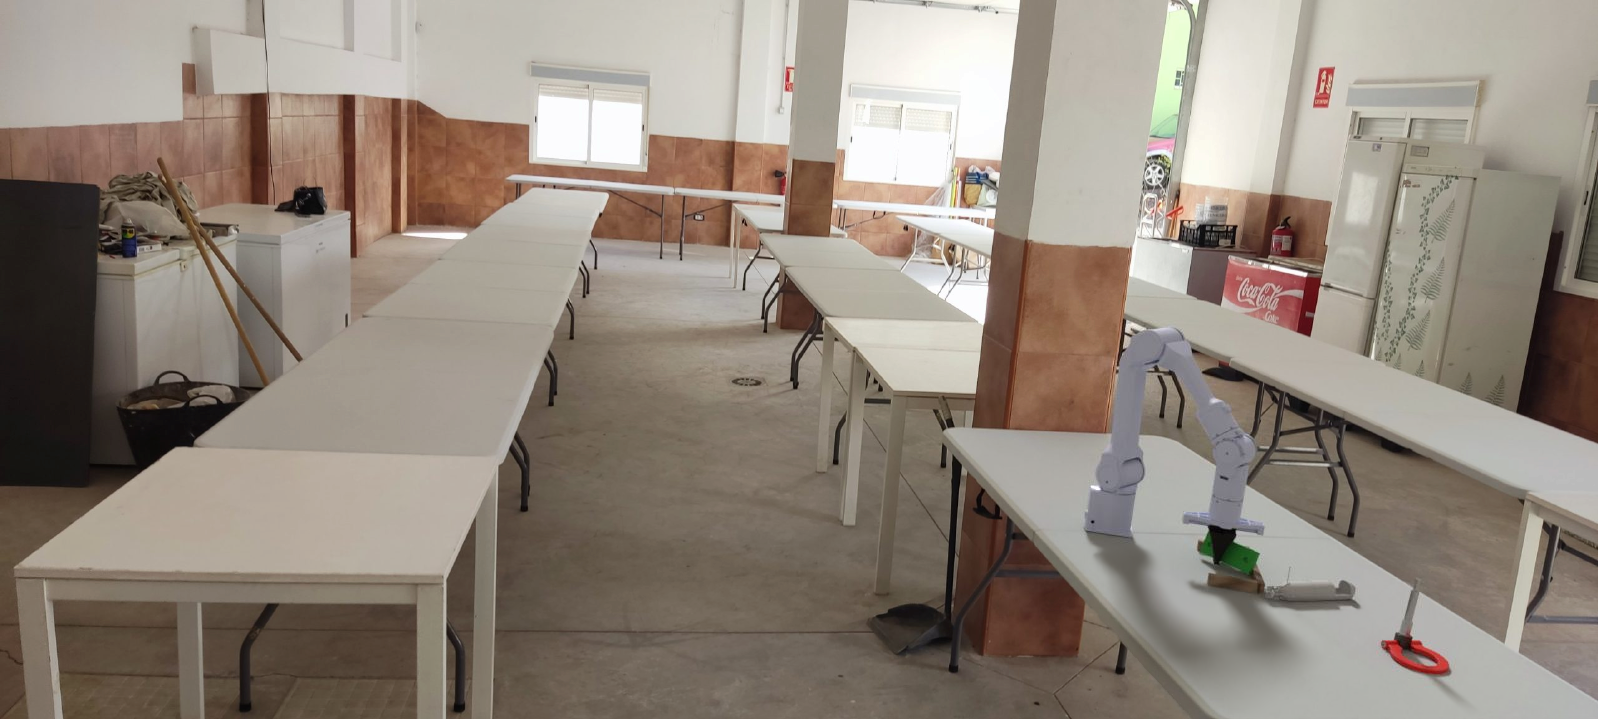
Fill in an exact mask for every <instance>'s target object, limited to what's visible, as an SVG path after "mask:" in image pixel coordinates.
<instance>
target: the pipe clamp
mask: <svg viewBox="0 0 1598 719" xmlns="http://www.w3.org/2000/svg"><path fill="white" fill-rule="evenodd" d="M1203 540H1204V543H1203V545H1202V547H1201V550H1200V551H1199V552H1200V554H1201V553H1202V554H1203V555H1206V556H1208V557H1210V558H1212V559H1213V548H1212V547H1211V544H1212V542H1211V537H1210V533H1209V530H1208V531H1207V534H1206V535H1205V538H1204V539H1203ZM1245 546H1246V545H1242V544H1240V543H1237V542H1236V541H1235V540H1234V541H1233V542H1232V543H1231V544H1230V545H1229V547H1228V548H1227V550H1226V551H1225V553H1224V555H1223V557H1222V559H1221V561H1220V563H1223V564H1225V565H1228V566H1230V567H1232V568H1233V569H1236V570H1239V571H1241V572H1243V573H1245V574H1246V575H1251V574H1252V571H1253V569H1254V567H1255V565H1256V564H1257V562H1258V560H1259V557H1260V554H1261V553H1260V552H1258V551H1256V550H1254V549H1252V548H1251V547H1250V548H1248V547H1249V546H1248V547H1245Z"/></svg>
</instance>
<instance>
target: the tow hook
mask: <svg viewBox="0 0 1598 719" xmlns="http://www.w3.org/2000/svg"><path fill="white" fill-rule="evenodd" d="M1421 582H1422V579H1421V578H1419V577H1416V578H1415V580H1414V584H1413V587H1412V588H1411V589H1410V594H1409V598H1408V601H1407V606H1406V609H1405V614H1404V618H1402V620H1401V623H1400V629H1399V632H1397V631H1396V632H1395V634H1394V638H1393V640H1392V639H1390V640H1389V639H1386V640H1383V639H1382V640H1381V642H1380V645H1381V648H1382V649H1384V650H1388V651H1389V653H1390V656H1391V658H1392V659H1393V660H1394V661H1396V662H1397V663H1398V664H1399V665H1402V666H1403V667H1405V668H1407V669H1409V670H1412V671H1416V672H1418V673H1423V674H1427V675H1442V674H1446V673H1448V671H1449V668H1450V667H1449V666H1450V664H1449V661H1448V660H1447V659H1446V658H1445V657H1444V656H1442V655H1441V654H1440V653H1438V652H1436V651H1435V650H1432V649H1430V648H1429V647H1428V648H1427V647H1425V646H1424V645H1423V642H1422V641H1421V640H1418V639H1414V640H1413V638H1414V637H1413V636H1412V635H1411V634H1412V633H1411V632H1412V628H1413V624H1414V622H1413V619H1414V615H1415V610H1416V608H1417V607H1416V606H1417V604H1418V599H1419V595H1420V590H1419V589H1420V587H1421V586H1420V585H1421ZM1404 650H1411V651H1413V652H1414V653H1417V654H1420V655H1422V656H1423V655H1424V656H1425V657H1427V658H1429V659H1431V660H1433V661H1434V662H1435V665H1425V664H1421V663H1418V662H1415V661H1413V660H1410V659H1408V658H1407V657H1405V656H1404V655H1403V654H1402V653H1403V651H1404Z"/></svg>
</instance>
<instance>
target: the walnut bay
mask: <svg viewBox="0 0 1598 719" xmlns="http://www.w3.org/2000/svg"><path fill="white" fill-rule="evenodd" d="M1204 540H1205V539H1202V538H1198V539H1197V543H1196V544H1197V545H1196V549H1197V551H1199V552H1200V550H1201V547H1202V545H1203V543H1204ZM1244 546H1245V547H1248V548H1250V549H1251V547H1250V546H1246V545H1244ZM1211 547H1212V544H1211ZM1248 575H1249V574H1248ZM1249 578H1250V579H1249ZM1249 578H1244V577H1236V576H1231V575H1226V574H1225V575H1224V574H1218V573H1212V572H1208V575H1207V579H1206V580H1207V582H1206V584H1207V586H1210V587H1216V588H1223V589H1230V590H1234V591H1241V592H1245V593H1246V592H1247V593H1252V594H1259V595H1264V593H1265V589H1266V587H1265V586H1266V583H1265V580H1264V578H1263V575H1262V573H1261V571H1260V569H1259V566H1258V563H1256V565H1255V567H1254V569H1253V571H1252V574H1251V575H1249Z"/></svg>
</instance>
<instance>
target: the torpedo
mask: <svg viewBox="0 0 1598 719" xmlns="http://www.w3.org/2000/svg"><path fill="white" fill-rule="evenodd" d="M1291 568H1292V567H1291V566H1289V569H1288V574H1287V580H1285V581H1282V582H1281V583H1280V584H1279V585H1278V584H1276V585H1275V584H1274V585H1267V586H1266V587H1267V588H1264V591H1266V592H1265V598H1272V599H1275V598H1276V599H1277V598H1280V599H1281V600H1283V601H1286V602H1287V601H1288V602H1309V601H1310V602H1312V601H1313V602H1314V601H1315V602H1316V601H1319V602H1321V601H1347V600H1351V599H1353V598H1354V597H1355V595H1356V589H1357V588H1356V586H1355V585H1354V584H1353V583H1352V582H1350V581H1349V580H1345V579H1342V580H1340V581H1339V583H1338V586H1337V587H1335V584H1334V583H1333V582H1332V581H1331V580H1327V579H1321V580H1320V579H1319V580H1318V579H1316V580H1290V581H1289V578H1290V572H1291Z"/></svg>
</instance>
